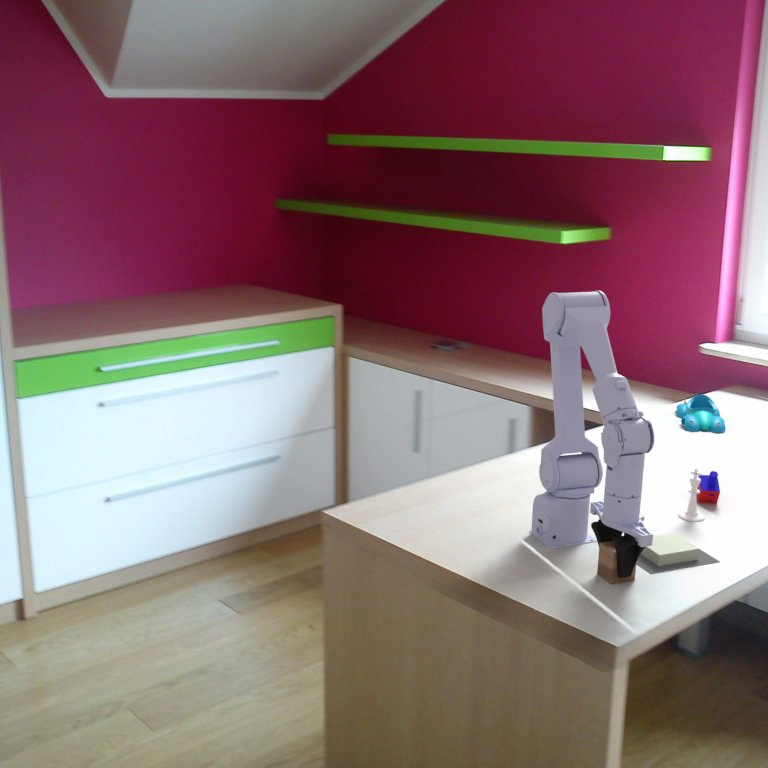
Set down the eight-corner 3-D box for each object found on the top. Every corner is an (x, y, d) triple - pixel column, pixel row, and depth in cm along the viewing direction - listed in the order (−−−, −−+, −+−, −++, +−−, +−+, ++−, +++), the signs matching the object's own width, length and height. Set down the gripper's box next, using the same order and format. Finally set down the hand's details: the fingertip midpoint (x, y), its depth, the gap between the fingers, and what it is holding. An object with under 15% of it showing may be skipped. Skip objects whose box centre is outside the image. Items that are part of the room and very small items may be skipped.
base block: (658, 566, 164) (659, 555, 164) (633, 549, 171) (634, 538, 170) (698, 559, 167) (699, 548, 167) (672, 543, 173) (673, 532, 173)
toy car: (716, 414, 254) (719, 389, 253) (728, 435, 237) (731, 408, 235) (673, 411, 256) (675, 386, 254) (682, 432, 239) (684, 405, 237)
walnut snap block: (610, 587, 158) (613, 549, 156) (596, 576, 161) (599, 539, 160) (634, 582, 159) (637, 545, 158) (620, 572, 163) (623, 536, 161)
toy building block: (696, 508, 195) (703, 480, 190) (694, 492, 198) (701, 464, 193) (715, 509, 195) (722, 482, 189) (712, 493, 198) (719, 465, 192)
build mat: (650, 576, 162) (650, 573, 161) (612, 549, 172) (612, 547, 171) (720, 564, 166) (720, 561, 166) (679, 539, 176) (679, 536, 176)
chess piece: (683, 512, 189) (689, 462, 186) (709, 518, 186) (714, 468, 183) (673, 519, 185) (678, 469, 183) (698, 526, 182) (704, 475, 180)
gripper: (672, 505, 151) (664, 586, 155) (618, 473, 164) (612, 549, 168) (633, 510, 149) (626, 592, 152) (581, 478, 162) (576, 554, 165)
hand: (616, 570), depth 160 cm, fingers closed on walnut snap block, 4 cm apart
